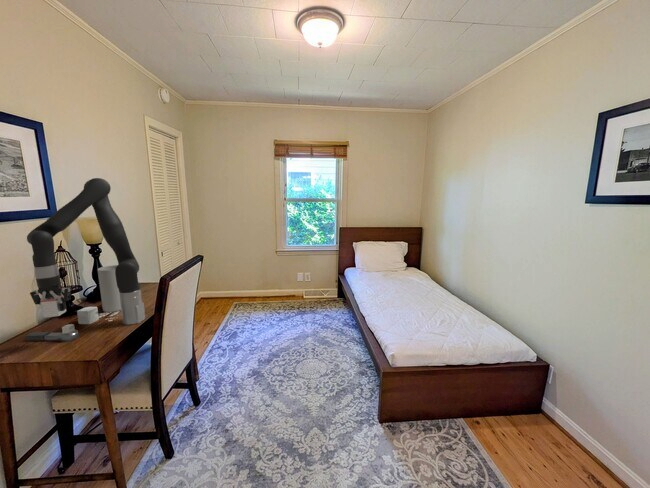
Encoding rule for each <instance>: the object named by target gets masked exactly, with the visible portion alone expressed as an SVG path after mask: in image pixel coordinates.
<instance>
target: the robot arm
mask: <svg viewBox="0 0 650 488" xmlns="http://www.w3.org/2000/svg"><path fill="white" fill-rule="evenodd" d="M83 185H84V186H83V189H82V190H81V191H80V192H79V194H78V195H76V196H75V197H74V198H73V199H71V200H70V201H69V202H67V203H66V204H65V205H63V206H62V207H60V208H59V209H58V210H56V211H55V212H54V213H52V215H50V217H48V218H47V219H46V221H44V222H42V223H41V224H39V225H37V226H36V227H35V228H34V229H32V230H31V231H30V232H29V233H28V234H27V235H26V242H27V243H28V244H30V245H31V249H32V253H33V254H32V255H31V256H32V257H31V258H32V264H33V268H34V269H33V272H34V276H35V281H36V285H37V286H36V287H37V290H33V291H30V293H29V295H30V296H31V299H32V301H33V303H34V305H40V306H41V307H42V305H41V300H44V299H46V298H50V297H51V298H57V299H58V301H59V303H60V304H59V306H60V310H61V311H64V310H65V309H66V310H67V304H66V302H68V301H69V300H71V290H72V289H71V287H69V286H68V287H63V286H62V281H61V276H60V271H59V267H58V264H57V259H56V255H55V241H54V237H55V236H56V235H57V234H58V233H61V232H63V231H64V230H66V229H67V228H68V227H70V225H72V223H74V222H75V221H76V220H77V219H78V218H79V217H80V216H82V214H83V213H84V212H85V211H86V210H87V209H89V207H90V206H92V208H93V211H94V213H95V214H94V215H95V217H96V220H97V223H98V226H99V229H100V231H101V233H102V236H103V239H104V240H105V241H106V243H107V245H108V246H109V247H110V248H111V250H112V251H113V252H114V254H115V256H116V260H117V264H116V265H117V267H116V269H115V276H116V282H117V287H118V289H119V295H120V303H121V310H120V311H121V317H122V318H121V319H122V325H135V324H140V323H142V321H143V320H145V319H146V312H145V311H146V310H145V303H144V302H143V300H142V293H141V291H142V290H141V285H140V282H139V279H138V273H139V271H140V265H139V262H138V260H137V259H136V257H135V255H134V252H133V251H132V248H131V246H130V242H129V239H128V235H127V232H126V230H125V227H124V225H123V222H122V221H121V219H120V217H119V216H118V214H117V213H116V211H115V210H114V208H113V207H112V205H111V201H110V199H109V195H110V192H111V185H110V183H109V182H108V181H107V180H106V179H103V178H99V177H95V178H94V177H93V178H91V179H88V180H87V181H86V182H85V183H84V184H83ZM40 295H41V296H40ZM58 295H59V296H58ZM63 296H64V297H63ZM42 312H43V310H42Z"/></svg>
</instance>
